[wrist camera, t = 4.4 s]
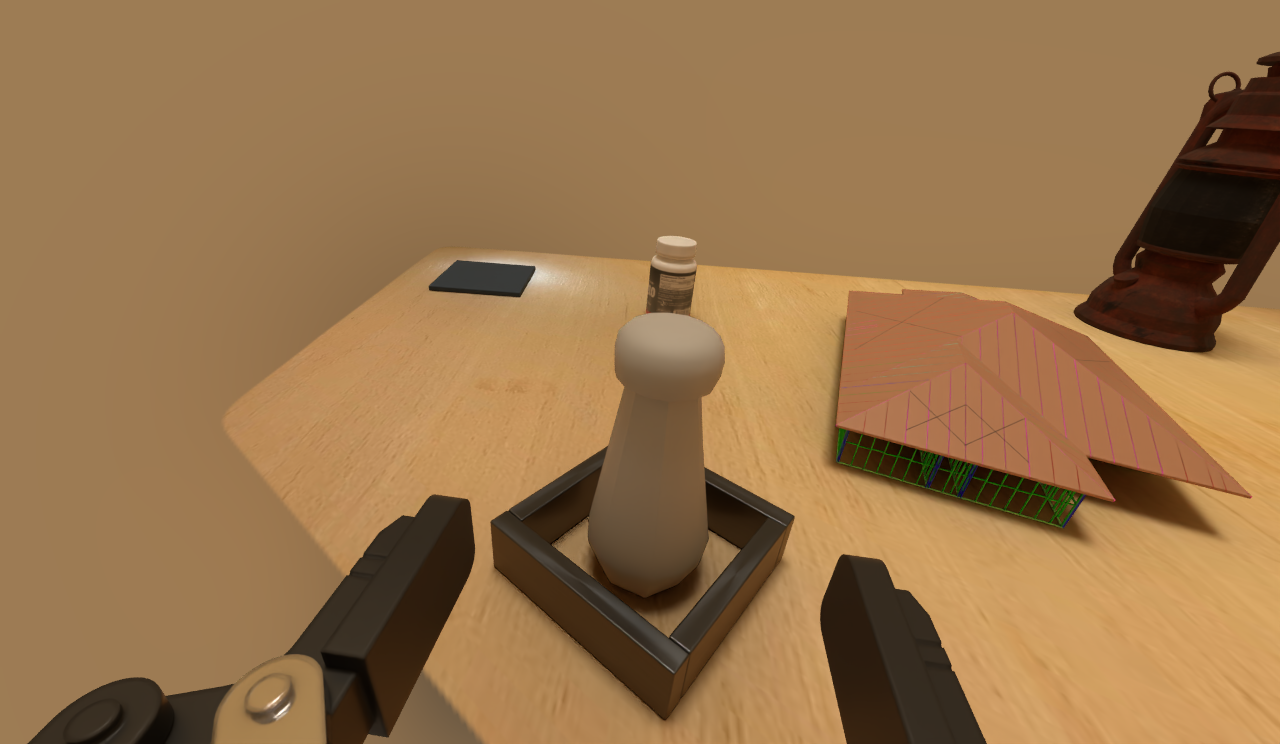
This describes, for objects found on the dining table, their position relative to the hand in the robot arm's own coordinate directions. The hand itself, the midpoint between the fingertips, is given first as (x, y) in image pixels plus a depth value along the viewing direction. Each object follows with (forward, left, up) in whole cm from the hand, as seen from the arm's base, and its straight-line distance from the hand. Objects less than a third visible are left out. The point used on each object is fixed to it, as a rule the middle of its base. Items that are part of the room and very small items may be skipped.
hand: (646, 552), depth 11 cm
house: (+41, +9, -12) cm, 44 cm away
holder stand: (+6, +8, -12) cm, 15 cm away
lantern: (+83, +8, -12) cm, 84 cm away
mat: (+12, +52, -12) cm, 54 cm away
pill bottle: (+26, +34, -12) cm, 44 cm away
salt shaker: (+6, +8, -12) cm, 15 cm away
